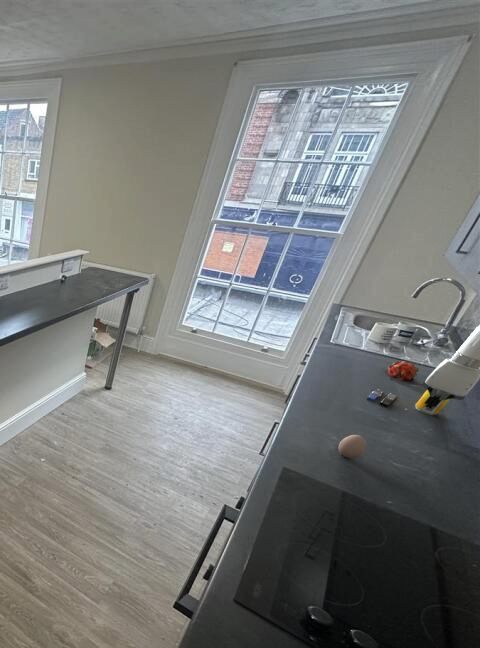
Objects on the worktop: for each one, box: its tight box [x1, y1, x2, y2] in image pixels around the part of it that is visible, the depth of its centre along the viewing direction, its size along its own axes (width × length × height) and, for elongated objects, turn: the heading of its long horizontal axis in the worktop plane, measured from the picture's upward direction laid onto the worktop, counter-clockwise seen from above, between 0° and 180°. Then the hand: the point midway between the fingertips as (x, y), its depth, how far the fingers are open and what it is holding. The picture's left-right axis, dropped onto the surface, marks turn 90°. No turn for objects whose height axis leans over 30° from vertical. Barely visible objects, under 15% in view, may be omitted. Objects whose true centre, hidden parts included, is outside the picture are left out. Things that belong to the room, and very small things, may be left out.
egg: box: [338, 434, 367, 459], centre depth 113 cm, size 5×5×7 cm
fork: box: [366, 388, 384, 402], centre depth 151 cm, size 15×3×1 cm, turn 126°
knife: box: [379, 392, 398, 408], centre depth 149 cm, size 16×2×1 cm, turn 126°
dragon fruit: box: [386, 360, 420, 382], centre depth 164 cm, size 8×8×12 cm
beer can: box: [414, 389, 451, 416], centre depth 140 cm, size 6×6×15 cm
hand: (428, 406), depth 140 cm, fingers closed
